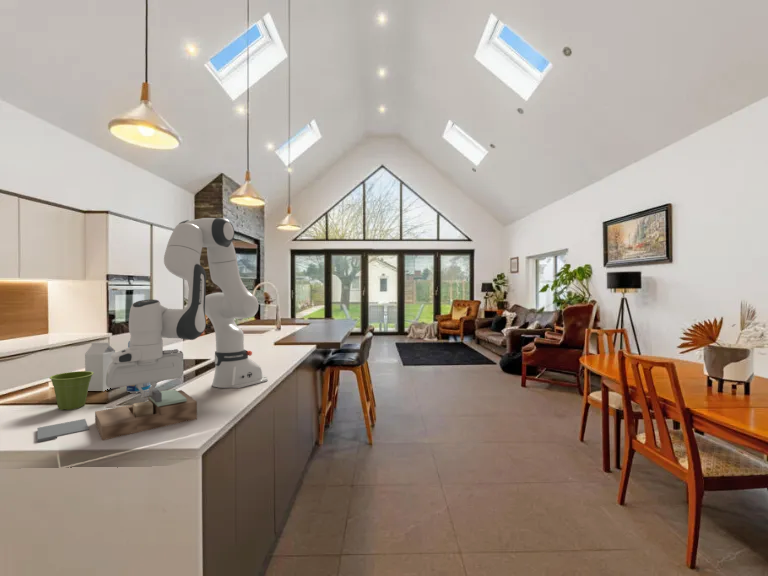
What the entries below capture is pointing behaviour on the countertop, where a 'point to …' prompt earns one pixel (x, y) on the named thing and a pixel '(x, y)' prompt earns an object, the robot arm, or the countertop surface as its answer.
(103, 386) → the milk carton
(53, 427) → the rubber pad
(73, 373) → the plant pot
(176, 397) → the sliding lid
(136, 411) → the maple block
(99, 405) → the countertop surface
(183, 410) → the puzzle board
